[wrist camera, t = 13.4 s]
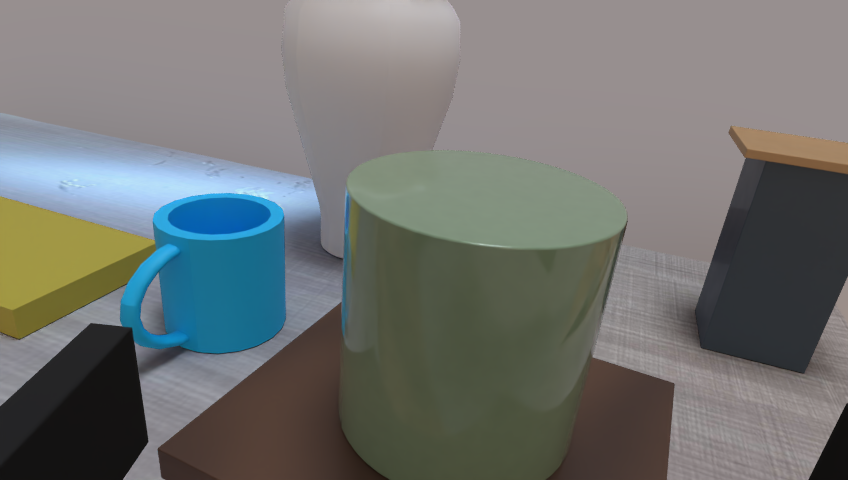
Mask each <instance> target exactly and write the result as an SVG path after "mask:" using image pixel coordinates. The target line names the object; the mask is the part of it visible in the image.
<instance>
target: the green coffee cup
mask: <svg viewBox="0 0 848 480" xmlns="http://www.w3.org/2000/svg"><path fill="white" fill-rule="evenodd" d="M627 220H628V214H627V211H626V208H625V206H624V205H623V203H622V202H621V201H620V200H619V199H618V198H617V197H616V196H615V195H614V194H612V193H611V192H610V191H608V190H607V189H605V188H604V187H602V186H600V185H598V184H597V183H595V182H593V181H590V180H588V179H586V178H584V177H582V176H579V175H577V174H574V173H572V172H569V171H566V170H563V169H560V168H557V167H553V166H550V165H547V164H543V163H538V162H535V161H531V160H526V159H521V158H516V157H510V156H505V155H498V154H491V153H481V152H471V151H453V150H428V151H412V152H403V153H396V154H391V155H386V156H382V157H378V158H375V159H372V160H369V161H367V162H364V163H362V164H361V165H359V166H357V167H356V168H355V169H353V170H352V171H351V172H350V174H349V176H348V177H347V180H346V186H345V216H344V245H343V275H342V304H341V334H340V363H339V393H338V412H339V420H340V423H341V427H342V430H343V432H344V434H345V436H346V438H347V440H348V442H349V443H350V445H351V446H352V447H353V449H354V450H355V452H356V453H357V454H358V455H359V456H360V457H361V458H362V459H363V460H364V461H365V462H366V463H367V464H368V465H369V466H370V467H372V468H373V469H374V470H375V471H377V472H378V473H379V474H381V475H383V476H384V477H386V478H387V479H389V480H546V479H547V478H548V477H550V476H551V475H552V474H553V473H554V472H555V471H556V470H557V469H558V468H559V466H560V465H561V464H562V462H563V460H564V459H565V457H566V455H567V453H568V450H569V447H570V444H571V440H572V436H573V432H574V429H575V425H576V421H577V417H578V413H579V409H580V405H581V401H582V397H583V393H584V390H585V386H586V382H587V378H588V374H589V370H590V366H591V362H592V358H593V354H594V350H595V347H596V343H597V339H598V335H599V331H600V327H601V323H602V319H603V315H604V311H605V308H606V304H607V300H608V296H609V292H610V288H611V284H612V280H613V276H614V272H615V268H616V265H617V261H618V257H619V253H620V249H621V245H622V241H623V237H624V233H625V229H626V225H627V222H628V221H627Z"/></svg>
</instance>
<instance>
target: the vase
mask: <svg viewBox="0 0 848 480" xmlns="http://www.w3.org/2000/svg"><path fill="white" fill-rule="evenodd" d="M282 57H283V66H284V74H285V84H286V89H287V92H288V96H289V99H290V103H291V106H292V110H293V113H294V117H295V120H296V124H297V127H298V131H299V134H300V138H301V141H302V145H303V148H304V152H305V155H306V159H307V162H308V166H309V169H310V173H311V176H312V180H313V183H314V187H315V190H316V194H317V197H318V201H319V205H320V212H321V245H322V247H323V248H324V249H325V250H326V251H327V252H329V253H330V254H332V255H334V256H336V257H338V258H342V259H343V245H344V216H345V186H346V180H347V177H348V176H349V174H350V172H351V171H352V170H353V169H355V168H356V167H357V166H359V165H361V164H362V163H364V162H367V161H369V160H372V159H375V158H378V157H382V156H386V155H391V154H396V153H403V152H412V151H428V150H432V149H433V147H434V143H435V141H436V139H437V136H438V134H439V131H440V129H441V126H442V123H443V121H444V118H445V116H446V113H447V111H448V108H449V105H450V103H451V100H452V97H453V93H454V88H455V83H456V78H457V73H458V68H459V63H460V21H459V19H458V17H457V15H456V12H455V11H454V8H453V7H452V5H451V4H450V3H449V2H448V1H447V0H289V2H288V3H287V5H286V6H285V12H284V24H283V36H282Z"/></svg>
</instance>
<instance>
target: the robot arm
mask: <svg viewBox="0 0 848 480" xmlns="http://www.w3.org/2000/svg"><path fill="white" fill-rule="evenodd" d="M147 443H148V435H147V428H146V421H145V414H144V407H143V400H142V393H141V386H140V379H139V372H138V365H137V358H136V352H135V345H134V338H133V331H132V328H131V327H122V326H112V325H103V324H94V323H91V324H90V325H88V326H87V327H86V328H85V329H84V330H83V331H82V332H81V333H80V334H79V335H78V336H77V337H75V338H74V339H73V340H72V341H71V342H70V343H69V344H68V345H67V346H66V347H65V348H63V349H62V350H61V351H60V352H59V353H58V354H57V355H56V356H55V357H54V358H53V359H51V360H50V361H49V362H48V363H47V364H46V365H45V366H44V367H43V368H42V369H41V370H39V371H38V372H37V373H36V374H35V375H34V376H33V377H32V378H31V379H30V380H29V381H27V382H26V383H25V384H24V385H23V386H22V387H21V388H20V389H19V390H18V391H17V392H16V393H14V394H13V395H12V396H11V397H10V398H9V399H8V400H7V401H6V402H5V403H4V404H2V405H1V406H0V480H123V478H124V477H125V475H126V474H127V473H128V471H129V470H130V468H131V467H132V465H133V464H134V462H135V461H136V459H137V458H138V456H139V455H140V453H141V452H142V450H143V449H144V447H145V446H146V445H147ZM809 480H848V403H847V404H846V406H845V408H844V410H843V412H842V414H841V416H840V418H839V420H838V422H837V424H836V426H835V428H834V430H833V432H832V434H831V436H830V438H829V440H828V442H827V444H826V446H825V448H824V450H823V452H822V454H821V456H820V458H819V460H818V462H817V464H816V466H815V468H814V470H813V472H812V474H811V476H810V478H809Z"/></svg>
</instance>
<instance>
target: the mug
mask: <svg viewBox="0 0 848 480" xmlns="http://www.w3.org/2000/svg"><path fill="white" fill-rule="evenodd" d="M153 228H154V236H155V245H156V251H155V252H154V253H153V254H152V255H151V256H150V257H148V258H147V259H146V260H145V261H144V262H143V263H142V264H141V265H140V266H139V268H138V269H137V270H136V272H135V273H134V275H133V276H132V277H131V279H130V280H129V282H128V284H127V286H126V289H125V292H124V294H123V297H122V299H121V308H120V321H121V324H122V326H123V327H131V328H132V331H133V338H134V341H135V342H136V343H137V344H138V345H140V346H143V347H149V348H155V349H164V348H169V347H175V346H181V347H182V348H186V349H189V350H193V351H196V352H203V353H227V352H236V351H241V350H245V349H248V348H251V347H255V346H258V345H260V344H261V343H263V342H265V341H267V340H269V339H271V338H272V337H274V336H275V335H276V334H277V333H278V332H279V331H280V330H281V329H282V327H283V324H284V322H285V319H286V307H285V240H284V213H283V210H282V208H281V207H279V206H278V205H277V204H276V203H274V202H272V201H269V200H267V199H264V198H261V197H256V196H251V195H245V194H232V193H221V194H205V195H198V196H191V197H187V198H183V199H180V200H176V201H173V202H171V203H169V204H167V205H165V206H162V207H161V208H160V209H159V210H158V211H157V212H156V213H154V218H153ZM158 272H159V279H160V287H161V295H162V304H163V312H164V321H165V329H166V332H167V334H164V335H154V334H150V333H149V332H148V331H147V330H145V329H144V327H143V324H142V322H141V319H140V313H141V303H142V300H143V298H144V295H145V293H146V290H147V288H148V286H149V285H150V283H151V282H152V280H153V279H154V277H155V276H156V275H157V273H158Z"/></svg>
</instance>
